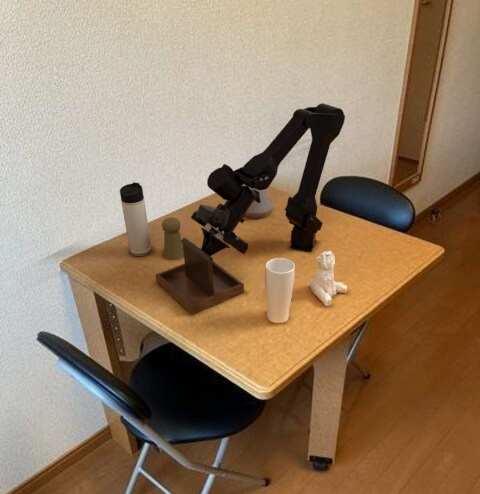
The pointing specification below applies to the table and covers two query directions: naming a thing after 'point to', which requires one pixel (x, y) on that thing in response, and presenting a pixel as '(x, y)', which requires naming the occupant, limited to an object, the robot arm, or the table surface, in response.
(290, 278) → the drinking glass
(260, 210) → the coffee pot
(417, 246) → the table surface
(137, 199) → the travel mug
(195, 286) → the tray
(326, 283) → the sitting furry creature
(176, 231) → the olive game pawn
